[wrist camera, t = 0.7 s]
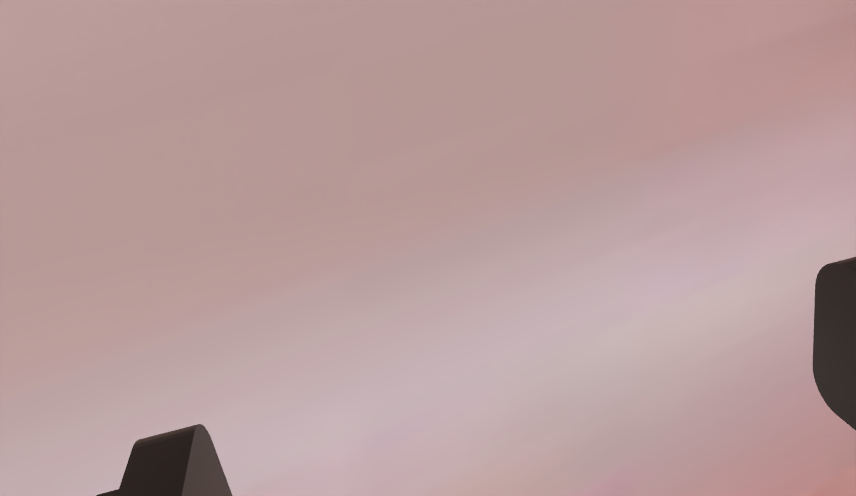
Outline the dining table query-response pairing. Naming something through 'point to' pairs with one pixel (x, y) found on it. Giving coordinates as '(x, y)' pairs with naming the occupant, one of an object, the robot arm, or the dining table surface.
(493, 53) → the dining table surface
